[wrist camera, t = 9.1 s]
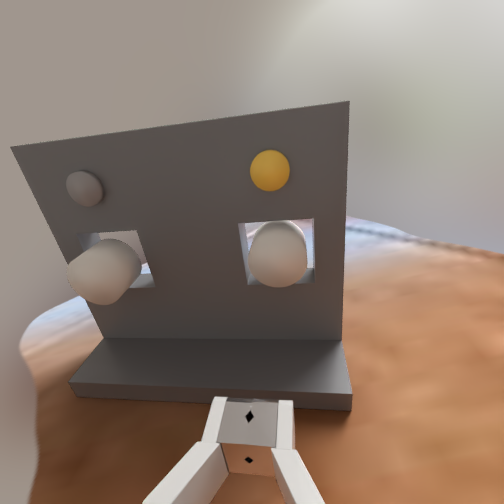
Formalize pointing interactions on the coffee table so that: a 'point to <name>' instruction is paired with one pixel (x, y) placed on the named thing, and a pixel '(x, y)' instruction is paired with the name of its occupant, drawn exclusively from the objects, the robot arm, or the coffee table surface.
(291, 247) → the beige rounded lump
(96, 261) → the unlit button
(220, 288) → the control panel
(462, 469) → the coffee table surface
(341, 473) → the coffee table surface
